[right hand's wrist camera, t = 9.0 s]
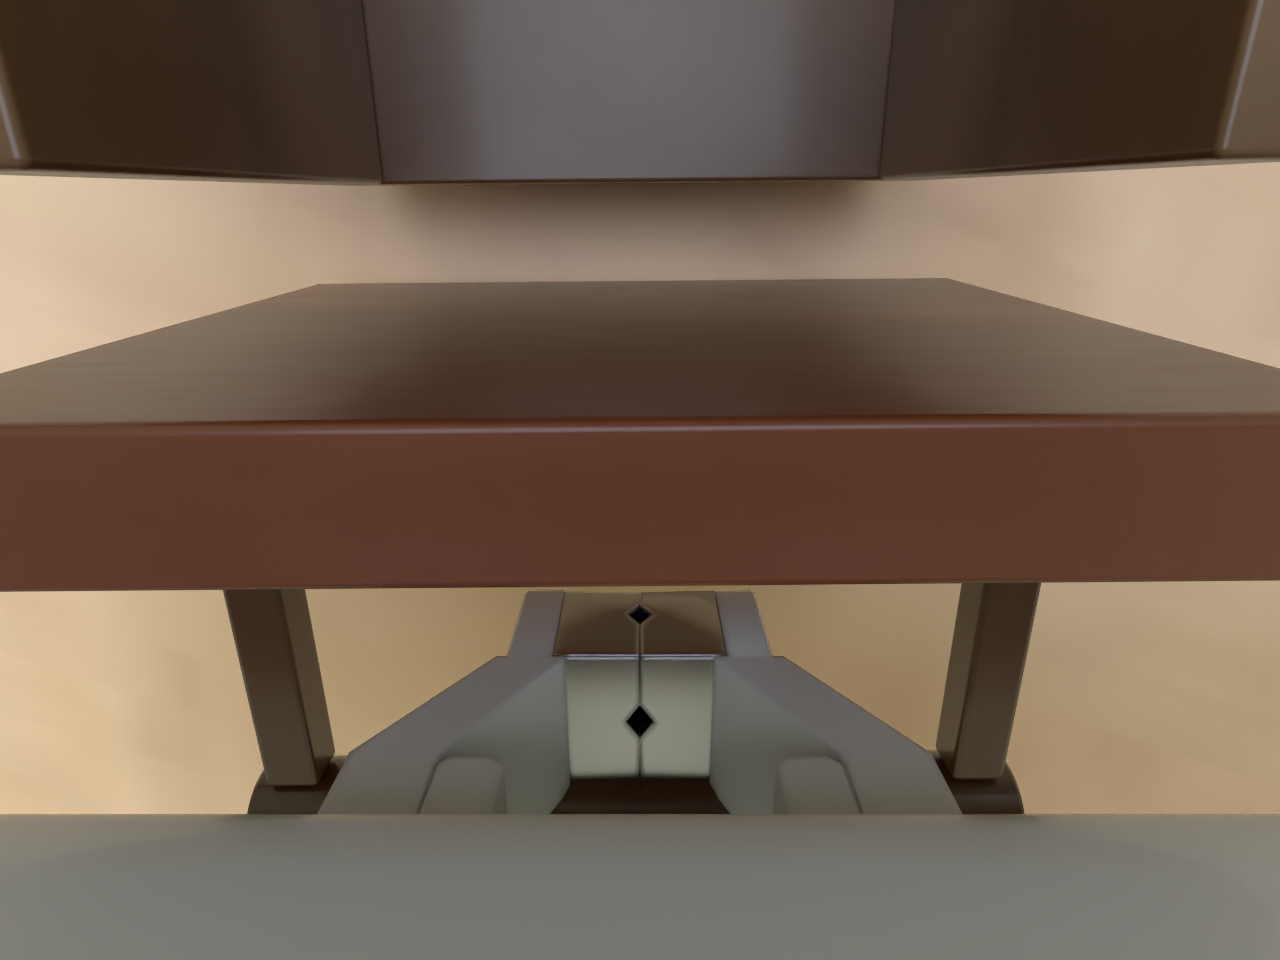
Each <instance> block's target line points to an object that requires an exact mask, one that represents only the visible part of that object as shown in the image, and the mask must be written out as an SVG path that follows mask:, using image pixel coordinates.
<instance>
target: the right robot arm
mask: <svg viewBox="0 0 1280 960" xmlns="http://www.w3.org/2000/svg"><path fill="white" fill-rule="evenodd" d="M639 761H640V775H641V779H703V780H710V784H711V786H712V788H713V789H714V791H715V793H716V795H717V797H718V799H719V800H720V802H721V803H722V804H723V805H724V807H725V808H726V809H727V810H728V811H729V813H730V814H550V813H551V812H552V811H553V809H554V808H555V807H556V806H557V804H558V803H559V802H560V801H561V800H562V798H563V797H564V795H565V793H566V792H567V790H568V788H569V786H570V780H608V779H639ZM0 960H1280V814H962V812H961V810H960V808H959V806H958V804H957V802H956V800H955V798H954V797H953V795H952V793H951V791H950V789H949V787H948V785H947V783H946V781H945V779H944V777H943V775H942V773H941V771H940V770H939V768H938V766H937V764H936V762H935V760H934V758H933V756H932V754H931V753H930V752H928V751H927V750H925V749H924V748H922V747H921V746H919V745H918V744H916V743H915V742H913V741H912V740H910V739H909V738H907V737H905V736H904V735H902V734H901V733H899V732H898V731H896V730H895V729H893V728H892V727H890V726H889V725H887V724H886V723H884V722H883V721H881V720H880V719H878V718H877V717H875V716H873V715H872V714H870V713H869V712H867V711H866V710H864V709H863V708H861V707H860V706H858V705H857V704H855V703H854V702H852V701H851V700H849V699H848V698H846V697H845V696H843V695H842V694H840V693H838V692H837V691H835V690H834V689H832V688H831V687H829V686H828V685H826V684H825V683H823V682H822V681H820V680H819V679H817V678H816V677H814V676H813V675H811V674H810V673H808V672H807V671H805V670H803V669H802V668H800V667H799V666H797V665H796V664H794V663H793V662H791V661H790V660H788V659H787V658H785V657H784V656H773V655H772V652H771V649H770V645H769V642H768V638H767V635H766V632H765V628H764V625H763V621H762V618H761V614H760V611H759V608H758V604H757V601H756V597H755V594H754V592H752V591H751V590H737V591H715V592H714V591H684V592H642V593H640V592H599V591H566V592H565V591H564V590H546V591H528V592H527V593H526V594H525V596H524V599H523V603H522V606H521V610H520V613H519V616H518V620H517V623H516V627H515V630H514V634H513V637H512V641H511V644H510V647H509V651H508V654H507V656H496V657H495V658H493V659H491V660H490V661H488V662H487V663H485V664H484V665H482V666H481V667H479V668H478V669H476V670H475V671H473V672H472V673H470V674H469V675H467V676H465V677H464V678H462V679H461V680H459V681H458V682H456V683H455V684H453V685H452V686H450V687H449V688H447V689H446V690H444V691H443V692H441V693H439V694H438V695H436V696H435V697H433V698H432V699H430V700H429V701H427V702H426V703H424V704H423V705H421V706H420V707H418V708H417V709H415V710H413V711H412V712H410V713H409V714H407V715H406V716H404V717H403V718H401V719H400V720H398V721H397V722H395V723H394V724H392V725H390V726H389V727H387V728H386V729H384V730H383V731H381V732H380V733H378V734H377V735H375V736H374V737H372V738H371V739H369V740H368V741H366V742H364V743H363V744H361V745H360V746H358V747H357V748H355V749H354V750H352V751H351V752H349V754H348V756H347V758H346V760H345V762H344V764H343V766H342V768H341V770H340V771H339V773H338V775H337V777H336V779H335V781H334V783H333V785H332V787H331V789H330V790H329V792H328V794H327V796H326V798H325V800H324V802H323V804H322V806H321V808H320V809H319V811H318V813H317V814H0Z"/></svg>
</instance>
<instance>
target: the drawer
mask: <svg viewBox="0 0 1280 960" xmlns="http://www.w3.org/2000/svg"><path fill="white" fill-rule="evenodd" d="M1263 162H1280V0H0V175H24V176H57V177H89V178H121V179H153V180H185V181H218V182H250V183H282V184H314V185H345V186H371V185H479V184H588V183H696V182H804V181H912V180H932V179H951V178H971V177H990V176H1010V175H1029V174H1049V173H1068V172H1088V171H1107V170H1126V169H1146V168H1165V167H1185V166H1204V165H1224V164H1243V163H1263ZM1260 580H1280V369H1279V368H1275V367H1271V366H1268V365H1264V364H1260V363H1257V362H1253V361H1249V360H1245V359H1242V358H1238V357H1234V356H1231V355H1227V354H1223V353H1220V352H1216V351H1212V350H1209V349H1205V348H1201V347H1198V346H1194V345H1190V344H1187V343H1183V342H1179V341H1175V340H1172V339H1168V338H1164V337H1161V336H1157V335H1153V334H1150V333H1146V332H1142V331H1139V330H1135V329H1131V328H1128V327H1124V326H1120V325H1117V324H1113V323H1109V322H1106V321H1102V320H1098V319H1094V318H1091V317H1087V316H1083V315H1080V314H1076V313H1072V312H1069V311H1065V310H1061V309H1058V308H1054V307H1050V306H1047V305H1043V304H1039V303H1036V302H1032V301H1028V300H1024V299H1021V298H1017V297H1013V296H1010V295H1006V294H1002V293H999V292H995V291H991V290H988V289H984V288H980V287H977V286H973V285H969V284H966V283H962V282H958V281H955V280H951V279H947V278H934V279H825V280H715V281H606V282H496V283H386V284H318V285H314V286H311V287H307V288H304V289H300V290H297V291H293V292H289V293H286V294H282V295H279V296H275V297H272V298H268V299H264V300H261V301H257V302H254V303H250V304H247V305H243V306H240V307H236V308H232V309H229V310H225V311H222V312H218V313H215V314H211V315H208V316H204V317H200V318H197V319H193V320H190V321H186V322H183V323H179V324H175V325H172V326H168V327H165V328H161V329H158V330H154V331H151V332H147V333H143V334H140V335H136V336H133V337H129V338H126V339H122V340H119V341H115V342H111V343H108V344H104V345H101V346H97V347H94V348H90V349H86V350H83V351H79V352H76V353H72V354H69V355H65V356H62V357H58V358H54V359H51V360H47V361H44V362H40V363H37V364H33V365H29V366H26V367H22V368H19V369H15V370H12V371H8V372H5V373H1V374H0V592H11V591H125V590H223V592H224V597H225V601H226V605H227V610H228V614H229V618H230V623H231V627H232V631H233V636H234V640H235V644H236V649H237V653H238V657H239V662H240V666H241V670H242V675H243V679H244V683H245V688H246V692H247V696H248V701H249V705H250V710H251V714H252V718H253V723H254V727H255V731H256V736H257V740H258V744H259V749H260V753H261V757H262V762H263V766H264V770H263V772H262V774H261V775H260V777H259V779H258V781H257V783H256V786H255V788H254V791H253V794H252V796H251V800H250V804H249V808H248V813H247V814H317V813H318V811H319V809H320V808H321V806H322V804H323V802H324V800H325V798H326V796H327V794H328V792H329V790H330V789H331V787H332V785H333V783H334V781H335V779H336V777H337V775H338V773H339V771H340V770H341V768H342V766H343V764H344V762H345V760H346V758H347V756H333V755H334V753H335V748H334V742H333V737H332V732H331V726H330V721H329V716H328V710H327V705H326V699H325V694H324V689H323V683H322V678H321V673H320V667H319V662H318V657H317V651H316V646H315V641H314V635H313V630H312V624H311V619H310V614H309V608H308V603H307V598H306V592H305V589H352V588H465V587H579V586H692V585H806V584H919V583H962V585H961V591H960V597H959V603H958V610H957V616H956V622H955V628H954V635H953V641H952V647H951V653H950V660H949V666H948V672H947V679H946V685H945V691H944V697H943V704H942V710H941V716H940V722H939V729H938V735H937V741H936V748H937V750H938V751H928V752H930V753H931V754H932V756H933V758H934V760H935V762H936V764H937V766H938V768H939V770H940V771H941V773H942V775H943V777H944V779H945V781H946V783H947V785H948V787H949V789H950V791H951V793H952V795H953V797H954V798H955V800H956V802H957V804H958V806H959V808H960V810H961V812H962V814H1024V809H1023V804H1022V799H1021V795H1020V792H1019V789H1018V786H1017V783H1016V781H1015V778H1014V776H1013V774H1012V772H1011V770H1010V768H1009V766H1008V765H1007V763H1006V762H1005V760H1006V755H1007V750H1008V745H1009V740H1010V735H1011V730H1012V725H1013V720H1014V715H1015V710H1016V705H1017V700H1018V695H1019V690H1020V685H1021V680H1022V676H1023V671H1024V666H1025V661H1026V656H1027V651H1028V646H1029V641H1030V636H1031V631H1032V626H1033V621H1034V616H1035V611H1036V606H1037V601H1038V596H1039V591H1040V586H1041V582H1146V581H1260ZM550 814H730V813H729V811H728V810H727V809H726V808H725V807H724V805H723V804H722V803H721V802H720V800H719V799H718V797H717V795H716V793H715V791H714V789H713V788H712V786H711V784H710V780H703V779H641V775H640V761H639V779H608V780H570V786H569V788H568V790H567V792H566V793H565V795H564V797H563V798H562V800H561V801H560V802H559V803H558V804H557V806H556V807H555V808H554V809H553V811H552V812H551V813H550Z"/></svg>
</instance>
